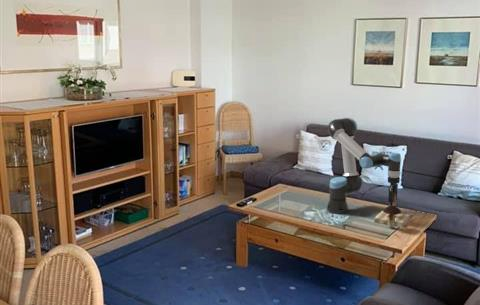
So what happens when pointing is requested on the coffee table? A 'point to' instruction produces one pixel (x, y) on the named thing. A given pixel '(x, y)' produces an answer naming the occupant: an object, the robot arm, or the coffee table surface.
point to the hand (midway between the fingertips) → (392, 210)
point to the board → (384, 217)
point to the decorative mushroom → (392, 214)
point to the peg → (394, 200)
